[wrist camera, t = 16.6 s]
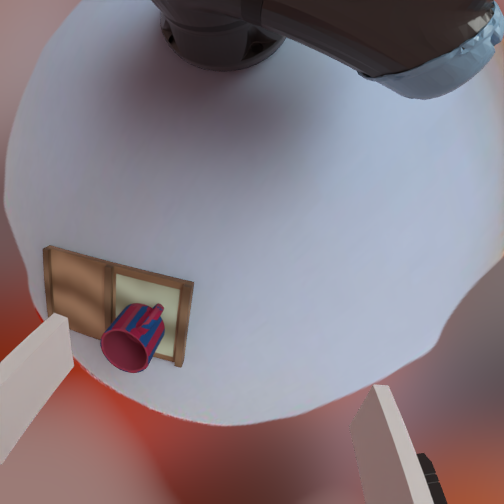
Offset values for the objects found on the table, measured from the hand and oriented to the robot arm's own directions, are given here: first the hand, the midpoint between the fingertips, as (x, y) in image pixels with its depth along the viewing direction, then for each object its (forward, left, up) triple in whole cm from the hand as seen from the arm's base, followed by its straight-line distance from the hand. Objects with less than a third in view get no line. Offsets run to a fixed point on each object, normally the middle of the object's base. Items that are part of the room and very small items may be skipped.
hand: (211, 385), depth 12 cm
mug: (+15, -11, -26) cm, 32 cm away
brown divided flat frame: (+15, -17, -27) cm, 35 cm away
